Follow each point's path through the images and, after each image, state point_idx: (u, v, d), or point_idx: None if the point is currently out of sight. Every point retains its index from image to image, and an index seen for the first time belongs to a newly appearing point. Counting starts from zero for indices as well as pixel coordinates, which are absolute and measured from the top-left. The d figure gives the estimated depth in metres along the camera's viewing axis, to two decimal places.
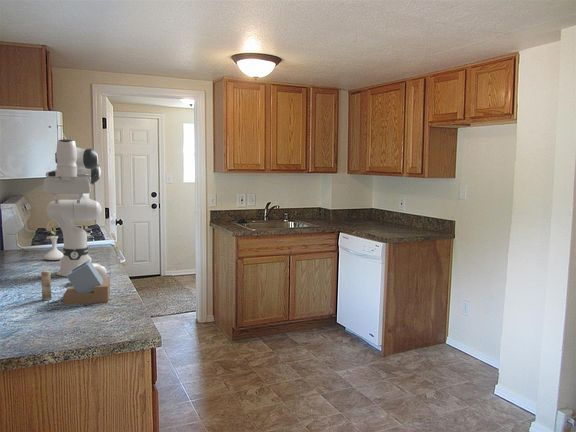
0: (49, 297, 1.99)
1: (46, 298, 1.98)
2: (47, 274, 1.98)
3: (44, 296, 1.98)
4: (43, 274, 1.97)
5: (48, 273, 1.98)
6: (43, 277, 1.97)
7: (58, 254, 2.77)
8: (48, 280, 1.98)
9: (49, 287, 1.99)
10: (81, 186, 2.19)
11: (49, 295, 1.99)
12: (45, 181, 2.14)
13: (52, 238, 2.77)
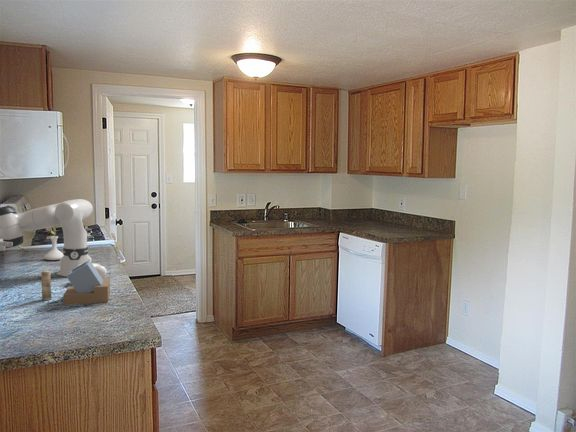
0: (49, 297, 1.99)
1: (46, 298, 1.98)
2: (47, 274, 1.98)
3: (44, 296, 1.98)
4: (43, 274, 1.97)
5: (48, 273, 1.98)
6: (43, 277, 1.97)
7: (58, 254, 2.77)
8: (48, 280, 1.98)
9: (49, 287, 1.99)
10: None
11: (49, 295, 1.99)
12: None
13: (52, 238, 2.77)
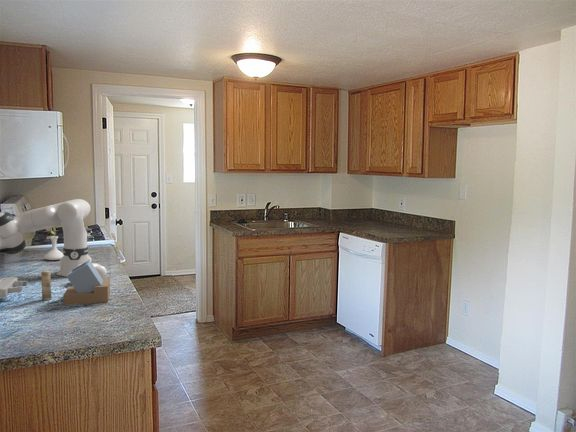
0: (49, 297, 1.99)
1: (46, 298, 1.98)
2: (47, 274, 1.98)
3: (44, 296, 1.98)
4: (43, 274, 1.97)
5: (48, 273, 1.98)
6: (43, 277, 1.97)
7: (58, 254, 2.77)
8: (48, 280, 1.98)
9: (49, 287, 1.99)
10: (7, 279, 2.00)
11: (49, 295, 1.99)
12: None
13: (52, 238, 2.77)
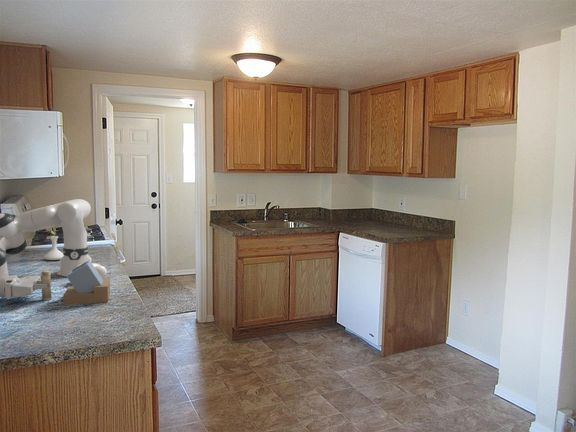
0: (49, 297, 1.99)
1: (46, 298, 1.98)
2: (47, 274, 1.98)
3: (44, 296, 1.98)
4: (43, 274, 1.97)
5: (48, 273, 1.98)
6: (43, 277, 1.97)
7: (58, 254, 2.77)
8: (48, 280, 1.98)
9: (49, 287, 1.99)
10: (31, 277, 2.03)
11: (49, 295, 1.99)
12: (16, 285, 1.88)
13: (52, 238, 2.77)
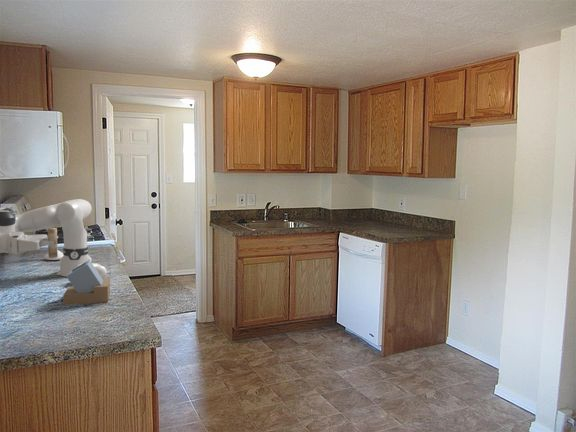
0: (55, 255, 1.97)
1: (52, 255, 1.96)
2: (54, 231, 1.95)
3: (50, 253, 1.96)
4: (49, 231, 1.95)
5: (55, 230, 1.96)
6: (49, 234, 1.95)
7: (58, 254, 2.77)
8: (54, 237, 1.96)
9: (55, 244, 1.97)
10: (37, 235, 2.01)
11: (55, 253, 1.97)
12: (22, 240, 1.86)
13: None
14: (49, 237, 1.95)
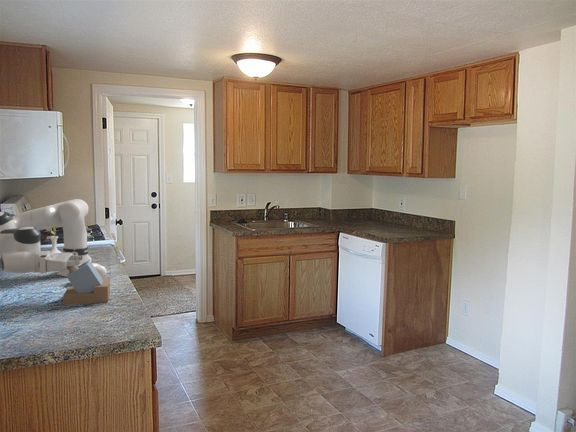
0: None
1: None
2: None
3: None
4: (68, 267, 1.97)
5: None
6: (70, 269, 1.97)
7: None
8: (76, 269, 1.98)
9: None
10: (63, 254, 2.03)
11: None
12: (51, 259, 1.88)
13: (52, 238, 2.77)
14: None
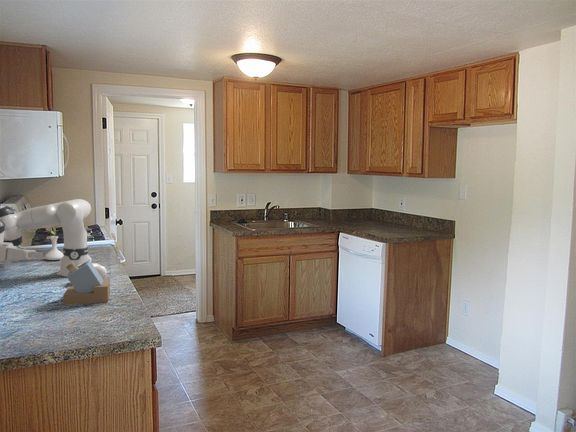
0: None
1: None
2: (71, 265, 1.97)
3: None
4: (68, 267, 1.97)
5: (72, 264, 1.98)
6: (70, 269, 1.97)
7: (58, 254, 2.77)
8: (76, 269, 1.98)
9: None
10: None
11: None
12: (12, 248, 1.85)
13: (52, 238, 2.77)
14: None
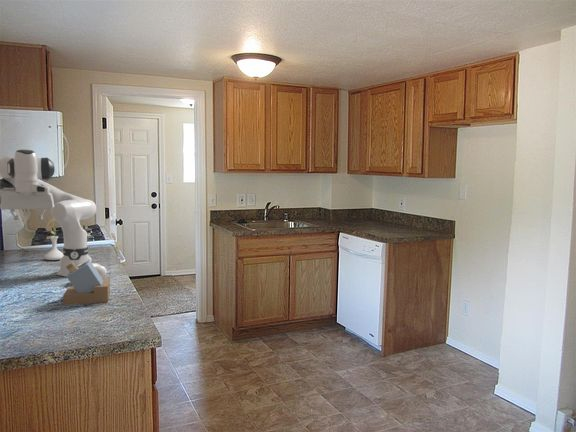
0: None
1: None
2: (71, 265, 1.97)
3: None
4: (68, 267, 1.97)
5: (72, 264, 1.98)
6: (70, 269, 1.97)
7: (58, 254, 2.77)
8: (76, 269, 1.98)
9: None
10: None
11: None
12: None
13: (52, 238, 2.77)
14: None
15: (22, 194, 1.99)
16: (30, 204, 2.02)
